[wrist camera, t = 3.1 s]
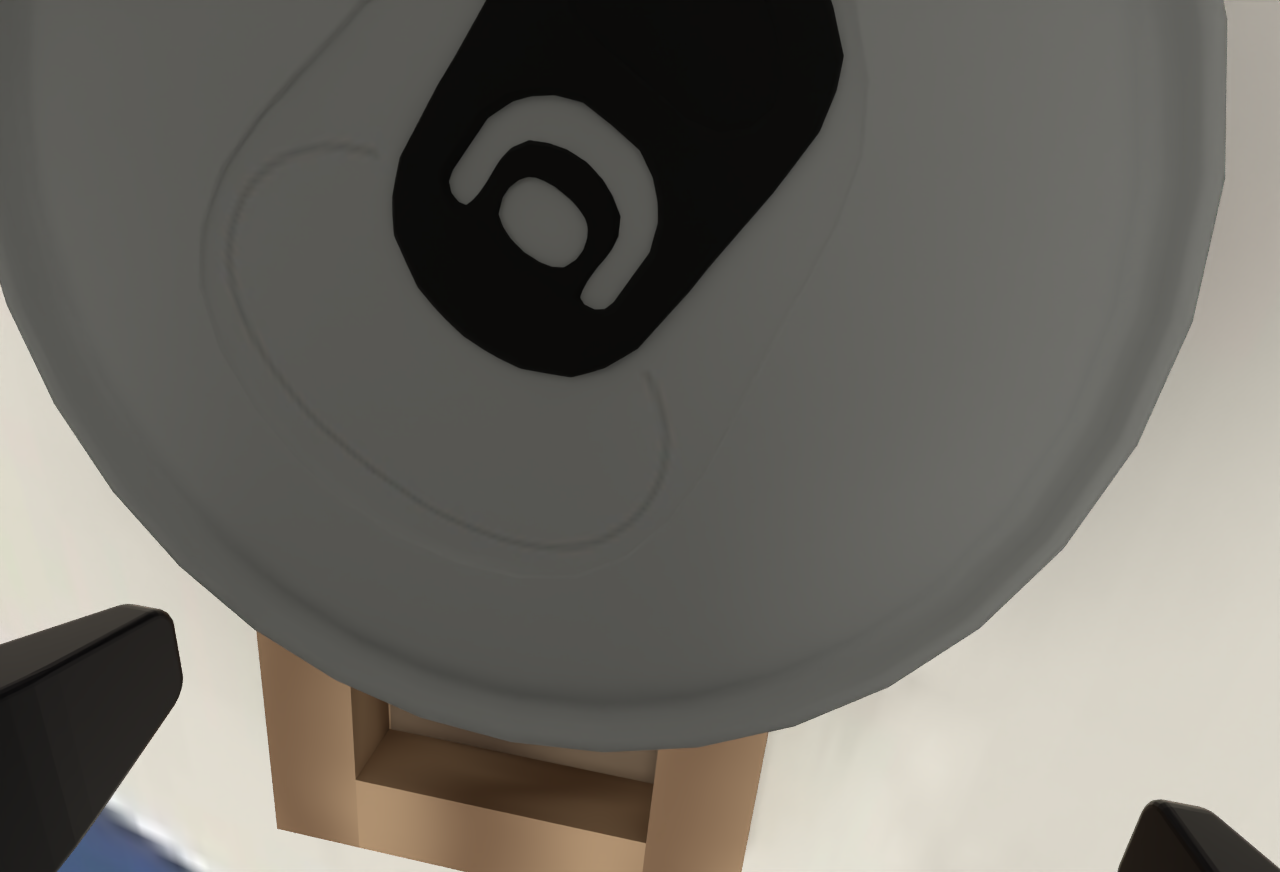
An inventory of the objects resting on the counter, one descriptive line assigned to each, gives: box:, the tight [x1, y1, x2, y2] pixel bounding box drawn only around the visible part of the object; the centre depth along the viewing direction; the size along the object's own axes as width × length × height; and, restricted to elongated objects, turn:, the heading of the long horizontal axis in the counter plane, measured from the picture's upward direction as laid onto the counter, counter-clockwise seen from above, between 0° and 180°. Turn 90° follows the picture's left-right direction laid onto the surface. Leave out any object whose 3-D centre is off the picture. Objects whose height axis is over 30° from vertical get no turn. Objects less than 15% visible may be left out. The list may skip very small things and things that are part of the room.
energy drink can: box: [0, 0, 1227, 752], centre depth 10 cm, size 6×6×15 cm
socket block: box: [257, 631, 768, 872], centre depth 21 cm, size 13×13×3 cm
